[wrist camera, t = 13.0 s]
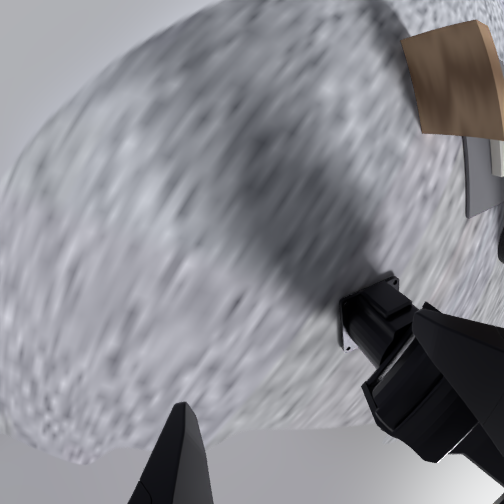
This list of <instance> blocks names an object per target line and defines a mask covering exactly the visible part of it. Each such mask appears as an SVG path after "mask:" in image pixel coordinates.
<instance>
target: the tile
mask: <svg viewBox="0 0 504 504" xmlns="http://www.w3.org/2000/svg"><path fill="white" fill-rule="evenodd" d="M490 145H491V159H492V175H495V176H499V177H503V176H504V141H500V140H493V139H490Z"/></svg>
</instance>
